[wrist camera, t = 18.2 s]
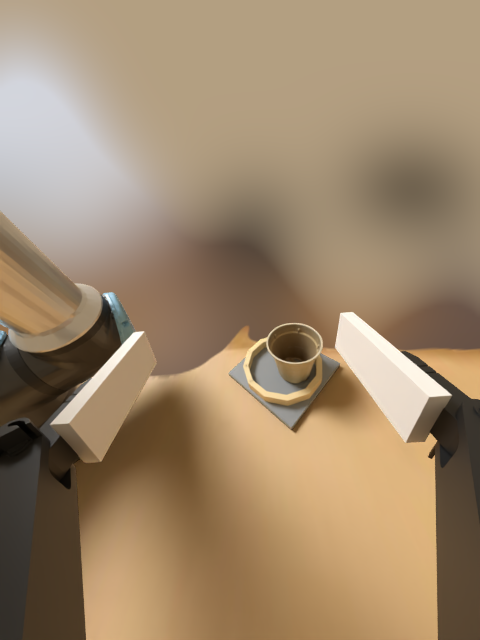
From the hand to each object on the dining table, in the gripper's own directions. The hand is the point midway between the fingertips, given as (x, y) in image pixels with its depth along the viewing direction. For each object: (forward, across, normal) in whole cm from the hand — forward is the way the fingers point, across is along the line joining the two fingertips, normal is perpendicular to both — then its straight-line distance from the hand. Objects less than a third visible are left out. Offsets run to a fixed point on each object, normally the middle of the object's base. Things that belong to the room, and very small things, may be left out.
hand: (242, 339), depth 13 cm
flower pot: (+18, +9, -21) cm, 29 cm away
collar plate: (+19, +6, -22) cm, 30 cm away
